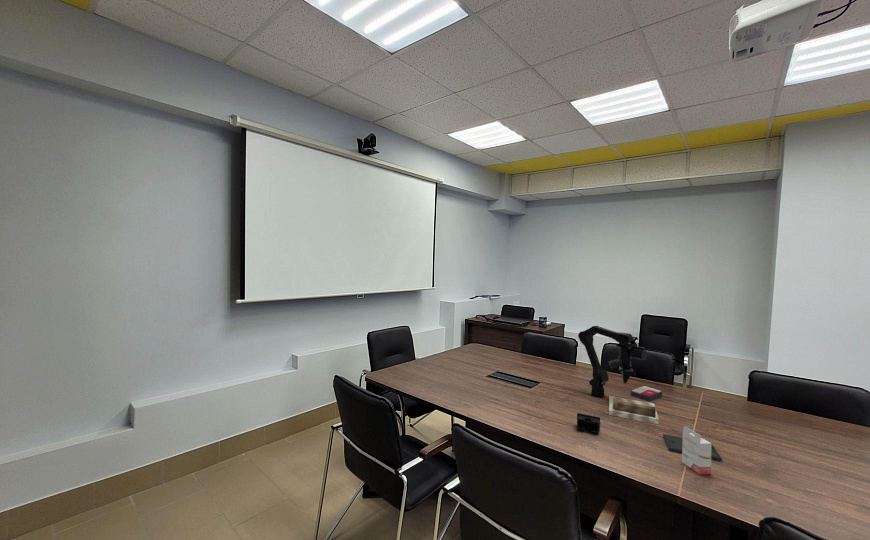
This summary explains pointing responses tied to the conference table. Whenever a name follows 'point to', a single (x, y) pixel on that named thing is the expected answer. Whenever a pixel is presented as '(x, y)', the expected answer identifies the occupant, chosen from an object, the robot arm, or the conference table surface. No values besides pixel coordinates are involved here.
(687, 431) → the ink cartridge box
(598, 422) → the end cap
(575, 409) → the conference table surface
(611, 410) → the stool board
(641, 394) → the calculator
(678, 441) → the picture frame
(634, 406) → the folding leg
